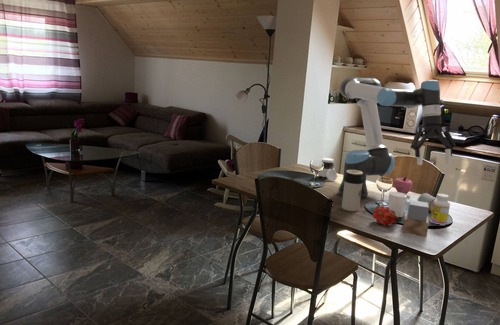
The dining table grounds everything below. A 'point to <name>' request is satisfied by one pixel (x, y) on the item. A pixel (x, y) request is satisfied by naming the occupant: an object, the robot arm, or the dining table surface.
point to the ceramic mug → (427, 200)
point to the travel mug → (352, 190)
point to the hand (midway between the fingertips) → (434, 164)
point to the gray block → (418, 210)
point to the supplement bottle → (440, 209)
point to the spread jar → (328, 170)
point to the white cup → (397, 203)
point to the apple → (403, 185)
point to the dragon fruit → (385, 216)
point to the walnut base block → (415, 226)
